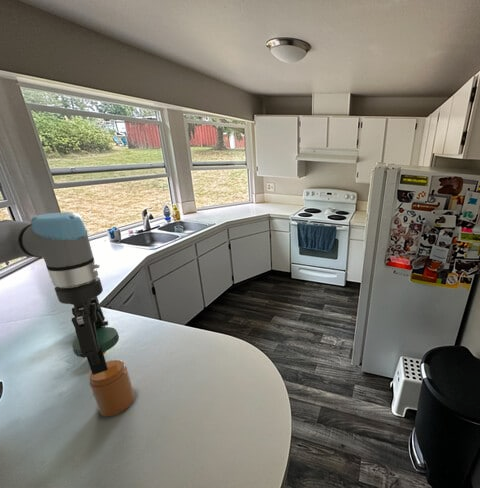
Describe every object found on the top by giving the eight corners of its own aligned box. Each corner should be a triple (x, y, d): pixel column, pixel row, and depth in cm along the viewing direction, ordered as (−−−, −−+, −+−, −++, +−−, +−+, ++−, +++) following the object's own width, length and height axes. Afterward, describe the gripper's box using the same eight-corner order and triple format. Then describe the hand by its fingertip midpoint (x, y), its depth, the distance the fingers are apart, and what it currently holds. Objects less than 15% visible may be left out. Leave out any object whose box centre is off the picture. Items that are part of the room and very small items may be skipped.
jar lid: (120, 330, 68) (118, 323, 67) (117, 349, 62) (115, 341, 61) (78, 341, 64) (76, 333, 63) (70, 362, 57) (68, 355, 56)
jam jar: (98, 422, 64) (84, 387, 60) (101, 399, 70) (89, 366, 66) (134, 406, 68) (124, 372, 64) (134, 386, 74) (125, 354, 70)
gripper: (92, 297, 51) (118, 382, 58) (103, 261, 67) (122, 331, 74) (39, 308, 47) (74, 398, 54) (64, 267, 63) (89, 340, 70)
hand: (102, 359), depth 64 cm, fingers closed on jar lid, 8 cm apart
